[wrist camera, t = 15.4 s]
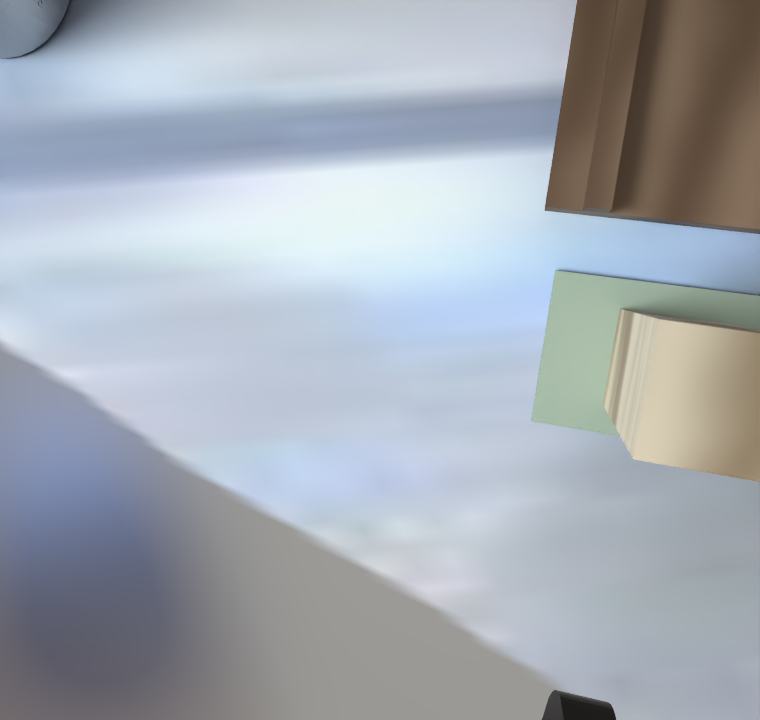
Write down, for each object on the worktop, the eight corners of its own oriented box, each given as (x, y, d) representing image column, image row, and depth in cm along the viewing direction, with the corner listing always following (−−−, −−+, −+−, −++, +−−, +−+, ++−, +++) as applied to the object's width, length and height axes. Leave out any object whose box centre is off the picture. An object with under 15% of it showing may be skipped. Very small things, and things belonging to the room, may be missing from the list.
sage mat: (531, 419, 38) (531, 421, 38) (555, 270, 37) (555, 270, 37) (772, 459, 36) (775, 462, 35) (804, 301, 35) (808, 301, 34)
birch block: (602, 404, 37) (633, 459, 25) (619, 308, 36) (659, 319, 24) (704, 421, 36) (785, 486, 24) (724, 323, 35) (817, 341, 23)
